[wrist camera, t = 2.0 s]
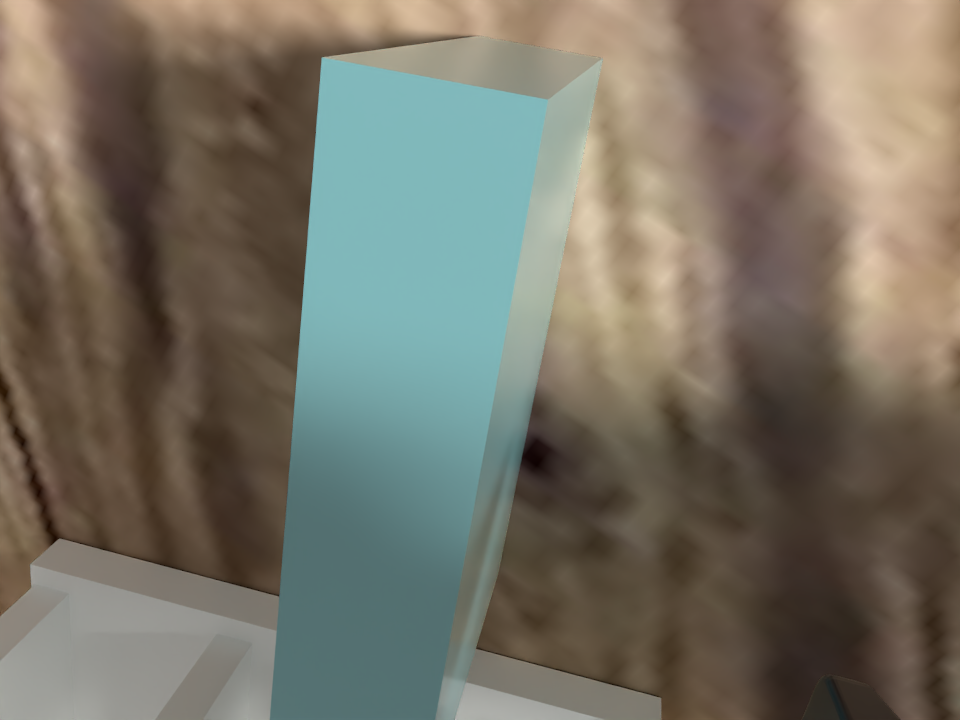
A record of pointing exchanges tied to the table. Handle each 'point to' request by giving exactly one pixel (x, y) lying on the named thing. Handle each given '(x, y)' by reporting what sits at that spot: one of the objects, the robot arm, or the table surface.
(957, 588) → the table surface
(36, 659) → the dish rack
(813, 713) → the robot arm
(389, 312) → the light blue block
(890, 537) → the table surface
